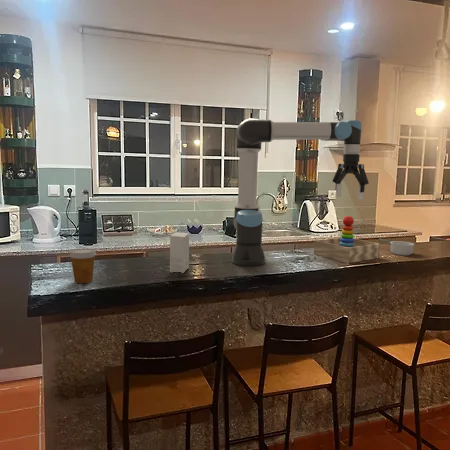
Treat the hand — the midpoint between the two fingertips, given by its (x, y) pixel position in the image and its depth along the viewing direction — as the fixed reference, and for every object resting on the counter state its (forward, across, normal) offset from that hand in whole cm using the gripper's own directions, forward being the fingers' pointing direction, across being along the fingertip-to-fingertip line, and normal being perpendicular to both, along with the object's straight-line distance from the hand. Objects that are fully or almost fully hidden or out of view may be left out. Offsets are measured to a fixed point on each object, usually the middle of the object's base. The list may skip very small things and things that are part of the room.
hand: (348, 198), depth 211 cm
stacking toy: (+28, 0, 0) cm, 28 cm away
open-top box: (+29, 0, 0) cm, 29 cm away
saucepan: (+29, -6, -30) cm, 42 cm away
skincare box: (+29, +15, +84) cm, 90 cm away
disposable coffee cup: (+29, +18, +123) cm, 128 cm away
